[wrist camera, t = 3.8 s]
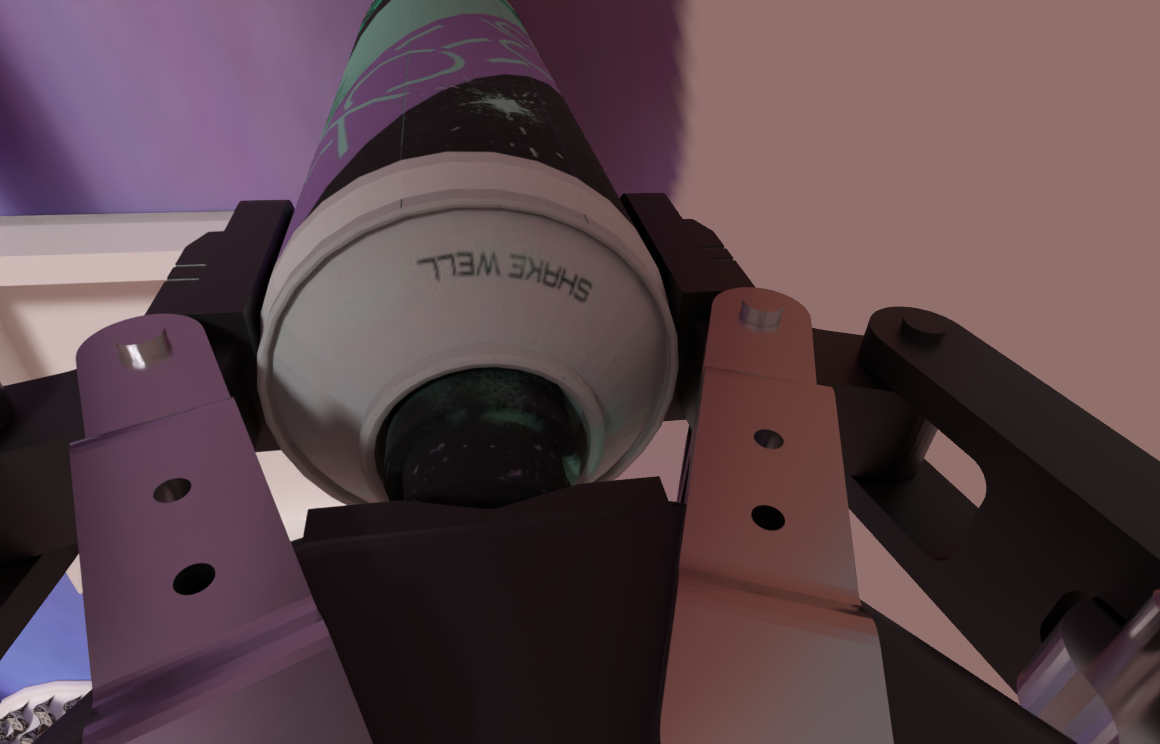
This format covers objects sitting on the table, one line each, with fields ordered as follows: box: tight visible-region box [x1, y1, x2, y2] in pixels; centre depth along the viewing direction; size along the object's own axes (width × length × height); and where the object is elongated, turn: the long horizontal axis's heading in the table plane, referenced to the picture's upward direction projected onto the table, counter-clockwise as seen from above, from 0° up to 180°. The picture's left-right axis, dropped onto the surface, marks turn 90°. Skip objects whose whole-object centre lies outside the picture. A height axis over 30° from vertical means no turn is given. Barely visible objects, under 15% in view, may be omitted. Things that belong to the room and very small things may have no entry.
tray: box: [0, 211, 346, 594], centre depth 28 cm, size 16×16×3 cm
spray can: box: [257, 0, 679, 509], centre depth 15 cm, size 6×6×20 cm
